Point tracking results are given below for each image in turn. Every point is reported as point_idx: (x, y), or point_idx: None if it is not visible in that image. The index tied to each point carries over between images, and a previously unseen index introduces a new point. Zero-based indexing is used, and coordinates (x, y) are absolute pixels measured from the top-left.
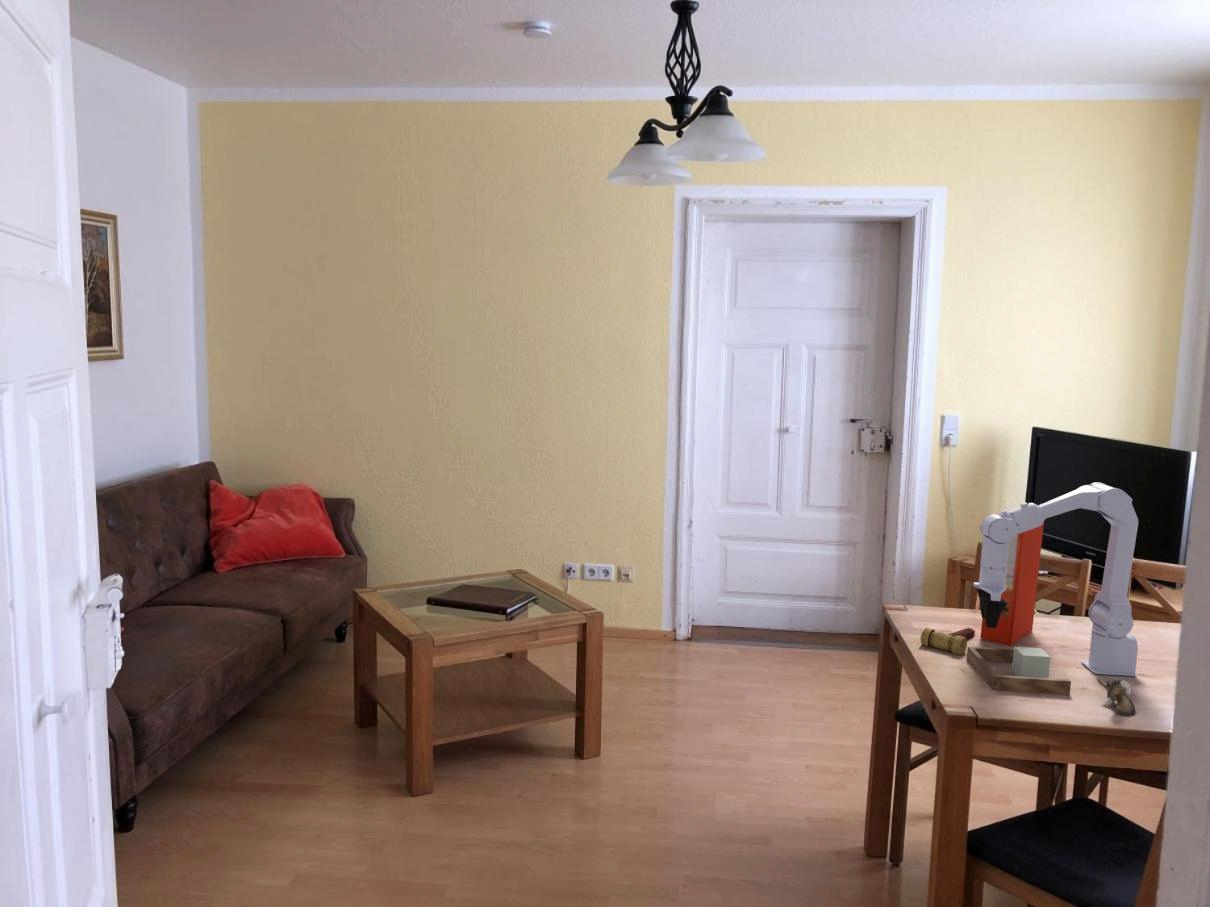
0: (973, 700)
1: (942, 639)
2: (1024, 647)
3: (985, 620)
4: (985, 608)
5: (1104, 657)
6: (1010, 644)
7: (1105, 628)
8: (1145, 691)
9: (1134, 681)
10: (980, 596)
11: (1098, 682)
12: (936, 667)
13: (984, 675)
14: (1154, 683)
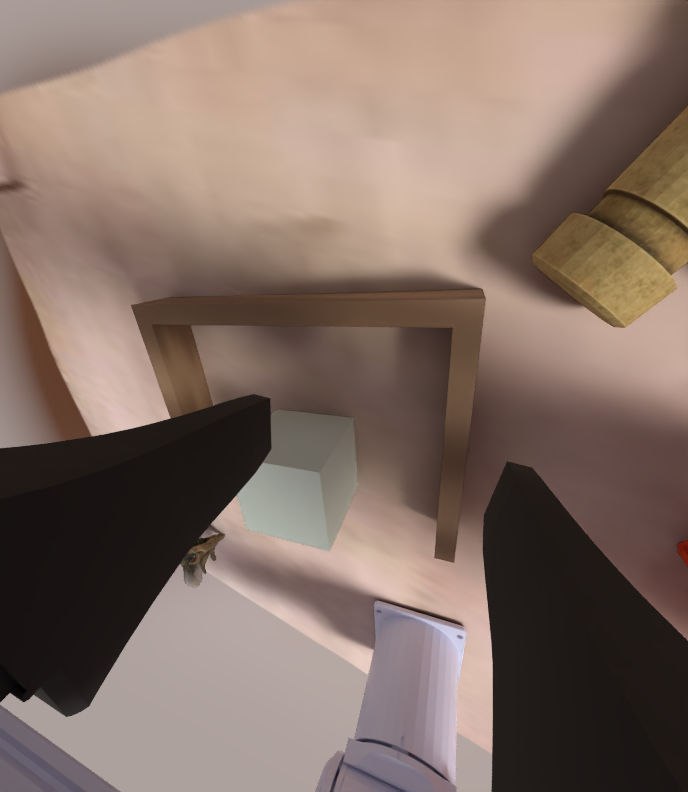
0: (64, 205)
1: (677, 138)
2: (321, 505)
3: (213, 406)
4: (55, 450)
5: (375, 661)
6: (683, 549)
7: (331, 775)
8: (298, 612)
9: (350, 633)
10: (605, 702)
11: (198, 545)
12: (319, 85)
13: (240, 297)
14: (348, 652)
